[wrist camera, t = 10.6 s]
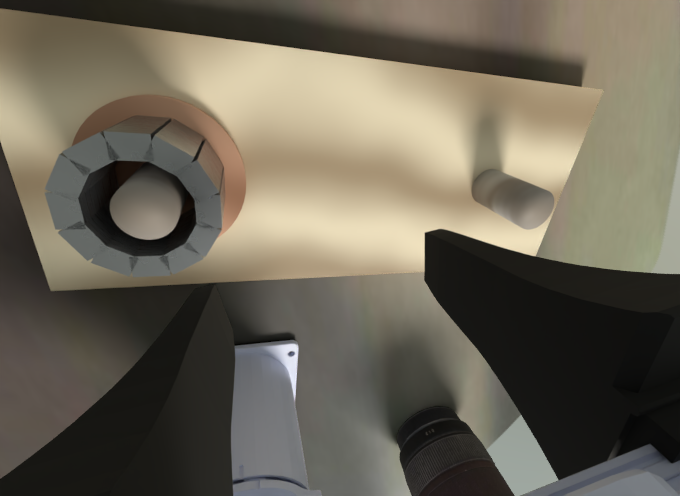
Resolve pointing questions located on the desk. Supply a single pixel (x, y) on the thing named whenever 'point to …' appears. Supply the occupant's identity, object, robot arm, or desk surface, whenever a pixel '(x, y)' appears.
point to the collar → (101, 184)
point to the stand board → (286, 149)
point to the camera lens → (446, 457)
